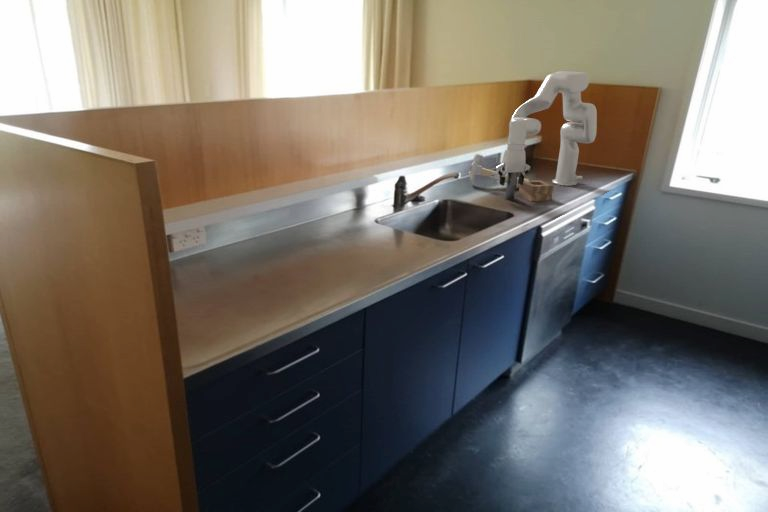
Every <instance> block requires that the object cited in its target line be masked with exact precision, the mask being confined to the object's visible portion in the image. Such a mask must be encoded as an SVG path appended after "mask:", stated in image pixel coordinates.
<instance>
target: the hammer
mask: <svg viewBox="0 0 768 512" xmlns="http://www.w3.org/2000/svg"><path fill="white" fill-rule="evenodd" d="M483 159H484V156H483V155H482V154H480V153H474V156H473V162H472V163H471V165H470V167H469V171H468V175H469V179H470V182H471V184H472V185H473V186H474V187H476V186H477V185H476V184H475V177H476V176H477V175H478V176H484V177H487V178H490V179H494V180H497V181H499V182H500V176H499V174H498V173H497V170H492V169H488V168H486V167H485V168H484V167H483V166H482V165H479V164H480V163H481V162H483ZM504 177H505V184H507V177H508V173H507V174H506V175H505V176H504ZM518 180H519V176H517V184H516V187H519V186H520V184H519V183H518ZM524 181H530V179H529V178H524ZM476 188H477V187H476Z"/></svg>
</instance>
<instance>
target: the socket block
mask: <svg viewBox="0 0 768 512" xmlns="http://www.w3.org/2000/svg"><path fill="white" fill-rule="evenodd" d="M553 193H554V185H553V184H550V183H549V182H546V181H544V180H540V179H539V180H538V179H537V180H529V181H524V182H523V185H521V184H520V186H518V196H519V197H520V198H523V199H525V200H528V201H530V202H543V201H545V202H546V201H552V200H553V199H552V198H553Z"/></svg>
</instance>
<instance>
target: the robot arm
mask: <svg viewBox="0 0 768 512" xmlns="http://www.w3.org/2000/svg"><path fill="white" fill-rule="evenodd" d="M589 83H590V78H589V75H588V74H587V73H586V72H583V71H569V70H567V71H566V70H563V71H561V70H560V71H559V70H558V71H556V72H553V73H550V74H548V75H547V76H546V77H545V79H544V80H543V82H542V83H541V84H540V87H539V89H538V90H537V92H536V94H535V95H534V96H533V97H531V98H530V99H528V100H527V101H525V102H524V103H522V104H521V105H520V106H519V107H518V108H517V109H516V110H515V111H514V113H513V115H512V116H511V119H510V121H509V124H508V127H509V129H508V131H509V132H508V138H507V148H506V149H505V150H504V152H503V155H502V160H501V163H500V164H499V165H497V166H495V169H496V170H495V171H497V173H498V174H499V176H500V181H499V185H501V186H503V187H504V186H505V184H506V183H505V177H504V176H505V175H506V174H507V175H508V173H513V172H515V171H517V172H518V174H519V175H518V177H519V180H518V183H519V184H521V185H523V182H524V179H525V177H526V175H527V174H528V173H529V171H530V169H531V166H530V165H529V164H527V163H526V159H527V158H526V157H527V156H526V150H525V148H527V147H528V145H527V144H526V137H527V136H536V135H538V134H539V133H540V131H541V129H542V124H541V123H542V122H541V121H540V120H539V119H536V118H533V117H532V118H531V117H528V116H529V115H531V114H534V113H537V112H540V111H543V110H544V111H545V110H548V109H549V108H550V107H551V106H552V104H553V103H554V101H555V99H556V97H557V96H558V94H559V93H561V95H562V115H563V119H564V120H565V121H567V122H565V123H563V125H562V126H560V146H559V147H560V148H559V152H558V153H559V154H558V160H557V167H556V174H555V178H554V179H552V181H551V182H552V183H553V184H555V185H558V186H564V185H565V186H568V187H570V186H573V185H574V186H576V185H577V184H578V182H577V181H580V180H583V176H582V175H577V174H576V173H577V172H576V171H577V166H578V160H579V153H580V149H579V145H578V143H579V144H580V143H581V144H586V145H587V144H591V143H594V142H595V140H596V137H597V128H598V127H597V122H598V120H597V119H598V117H597V115H598V114H597V113H598V112H597V108H596V106H595V104H593V103H590V102H583V101H582V93H581V92H584V91H585V90H586V89H587V88H588V86H589Z"/></svg>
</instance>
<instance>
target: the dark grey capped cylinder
mask: <svg viewBox="0 0 768 512" xmlns="http://www.w3.org/2000/svg"><path fill="white" fill-rule="evenodd" d="M518 174H519V172H517V171H515V172H513V173H507V175H508V177H507V183H506V189H505V196H504V199H505V200H506V201H515V199H516V190H517V186H516V184H517V177H519V175H518Z"/></svg>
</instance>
